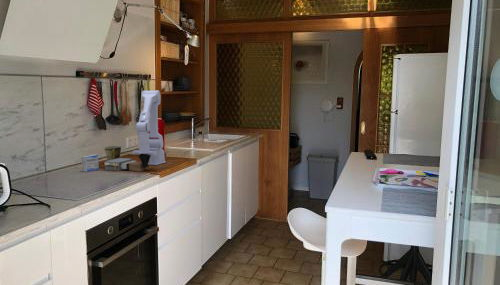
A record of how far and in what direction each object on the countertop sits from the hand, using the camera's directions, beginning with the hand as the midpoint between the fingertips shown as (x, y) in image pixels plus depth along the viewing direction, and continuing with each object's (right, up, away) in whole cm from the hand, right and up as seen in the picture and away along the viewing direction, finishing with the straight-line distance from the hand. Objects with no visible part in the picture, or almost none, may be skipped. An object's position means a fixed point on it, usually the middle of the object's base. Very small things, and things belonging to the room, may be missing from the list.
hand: (145, 167), depth 238 cm
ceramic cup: (-26, +1, +25) cm, 36 cm away
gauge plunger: (-13, -1, +5) cm, 14 cm away
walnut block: (-5, -2, +2) cm, 6 cm away
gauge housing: (-17, -1, +8) cm, 19 cm away
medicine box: (-32, -2, +4) cm, 33 cm away
